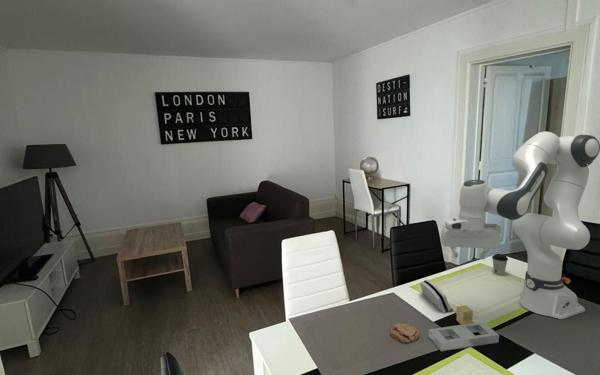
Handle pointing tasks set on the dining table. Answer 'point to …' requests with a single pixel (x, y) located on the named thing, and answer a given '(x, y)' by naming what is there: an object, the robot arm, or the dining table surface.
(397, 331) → the cookie
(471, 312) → the wood grain block
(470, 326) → the grey shape sorter tray
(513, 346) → the dining table surface
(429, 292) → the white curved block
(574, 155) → the robot arm
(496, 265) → the coffee cup
